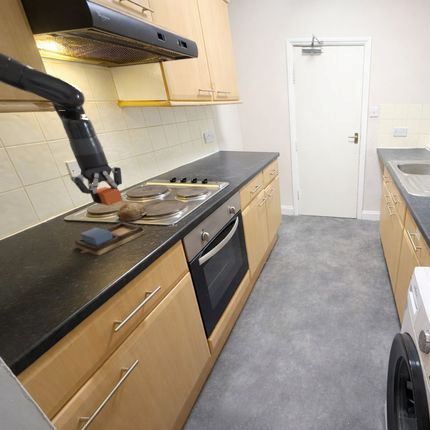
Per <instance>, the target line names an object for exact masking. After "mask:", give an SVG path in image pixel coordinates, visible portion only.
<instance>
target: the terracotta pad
mask: <svg viewBox="0 0 430 430" xmlns="http://www.w3.org/2000/svg"><path fill="white" fill-rule="evenodd" d="M120 191H121V190H120V189H113V188H111V187H108V186H104V187H100V188H97V193H98V194H99V197H100V199H101V202H102V203H101V204H100V205H104V206H110V205H111V206H112V205H113V204H116V203H119V202H122V201H124V199H123V196H122V194H121V192H120ZM91 199H92V200H93V198H92V197H91ZM94 203H95V204H97V203H96V202H94Z"/></svg>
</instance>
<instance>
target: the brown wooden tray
mask: <svg viewBox="0 0 430 430" xmlns="http://www.w3.org/2000/svg"><path fill="white" fill-rule="evenodd" d="M103 229H104V230H107V231H110V232H111V234H112V237H113V239H111V240H109V241H106V242H104V243H102V244H100V245H97V246H94V245H91V244H88V243H85V242H84V240H83V238H82V237H81V238H80V239H77V240H75V241H74V243H75V248H76V249H80V250H82V251H85V252H88V253H90V254H94V255H97V256H100V255H103V254H105V253H107V252H109V251H111V250H113V249H116V248H119V247H120V246H122V245H124V244H127V243H129V242H131V241H133V240H135V239H136V238H139V237H141V236H144V235H145V234H146V232H145V230H144V229H143V227H142V226H139V225H136V224H131V223H128V222H126V221H122V222H119V223H116V224H114V225H112V226H109V227H107V228H103Z"/></svg>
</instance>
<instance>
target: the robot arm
mask: <svg viewBox="0 0 430 430" xmlns="http://www.w3.org/2000/svg"><path fill="white" fill-rule="evenodd" d="M0 83H2V84H4V85H7V86H9V87H12V88H14V89H16V90H19V91H22V92H26V93H29V94H33V95H35V96H38V97H40V98H43V99H45V100H47V101H49V102H50V103H51V105H52V106H53V109H54V110H55V113H56V114H57V116H58V117H59V119H60V121H61V123H62V127H63V129H64V132H65V134H66V136H67V139H68V142H69V146H70V149H71V151H72V153H73V155H74V158H75V161H76V163H77V165H78V167H79V169H80V174H78V175H76V176H72V177H71V180H72V182H73V183H74V184H75V186H76V187H77V188H78V189H79V190H80V192H81V193H82V194H86V195H90V196H91V199H92V198H93V199H92V201H93V203H95V202H96V203H95V204H98V205H102V204H101V203H102V202H101V199H100V197H99V194H98V193H97V189H98V187H99V184H100V183H102V182H105V183H106V184H107V185H108V186H109V188H113V189H118V186H120V185H122V184H123V178H122V170H121V167H117V166H113V167H111V166H110V165H109V162H108V159H107V157H106V153H105V150H104V147H103V145H102V143H101V141H100V140H99V138H98V135H97V132H96V130H95V127H94V125H93V122H92V121H91V120H90V118H89V117H88V116H87V114H86V112H85V109H84V106H83V105H84V104H85V101H86V97H85V95H84V93H83V91H82V90H81V89H80V88H79V87H78V86H77V85H75V84H73V83H71V82H68V81H66V80H64V79H61V78H59V77H57V76H54V75H51V74H49V73H46V72H44V71H41V70H39V69H37V68H35V67H33V66H31V65H28V64H27V63H24V62H22V61H20V60H18V59H16V58H13V57H12V56H9V55H7V54H5V53H2V52H0ZM59 110H65V111H59ZM111 173H112V175H113V178H112V176H111ZM84 179H85V180H86V181H87V185H86V184H85V183H84V181H85V180H84ZM87 186H88V187H87ZM118 190H119V189H118Z"/></svg>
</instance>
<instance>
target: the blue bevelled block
mask: <svg viewBox="0 0 430 430" xmlns="http://www.w3.org/2000/svg"><path fill="white" fill-rule="evenodd" d="M104 229H105V228H100V227H94V228H91V229H89V230H86V231H83V232H81V233H80V236H81V239H82V238H83V240H84V242H85V243H88V244H91V245H94V246H97V245H100V244H102V243H104V242H106V241H109V240H111V239H113V237H112V234H111V232H110V231H107V230H104Z"/></svg>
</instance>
